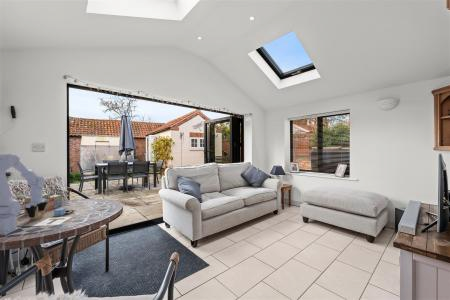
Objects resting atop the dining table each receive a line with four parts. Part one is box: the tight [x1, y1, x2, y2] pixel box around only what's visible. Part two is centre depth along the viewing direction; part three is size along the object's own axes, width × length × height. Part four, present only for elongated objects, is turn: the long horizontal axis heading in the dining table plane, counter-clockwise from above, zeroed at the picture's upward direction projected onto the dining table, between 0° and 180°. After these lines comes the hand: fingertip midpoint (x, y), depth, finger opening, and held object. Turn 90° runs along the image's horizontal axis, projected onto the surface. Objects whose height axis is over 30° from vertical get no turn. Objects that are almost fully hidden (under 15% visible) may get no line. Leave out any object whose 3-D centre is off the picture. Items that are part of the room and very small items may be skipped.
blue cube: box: [53, 207, 67, 217], centre depth 133 cm, size 4×4×4 cm
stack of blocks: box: [24, 193, 63, 216], centre depth 145 cm, size 21×6×12 cm, turn 171°
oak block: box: [29, 211, 46, 221], centre depth 125 cm, size 5×5×5 cm
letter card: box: [33, 216, 72, 227], centre depth 121 cm, size 14×14×1 cm
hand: (36, 215), depth 125 cm, fingers open, 7 cm apart
